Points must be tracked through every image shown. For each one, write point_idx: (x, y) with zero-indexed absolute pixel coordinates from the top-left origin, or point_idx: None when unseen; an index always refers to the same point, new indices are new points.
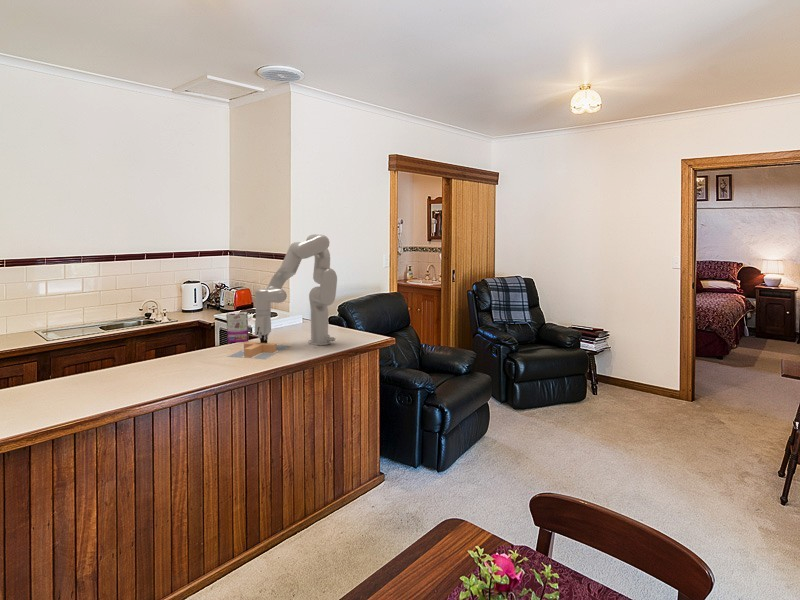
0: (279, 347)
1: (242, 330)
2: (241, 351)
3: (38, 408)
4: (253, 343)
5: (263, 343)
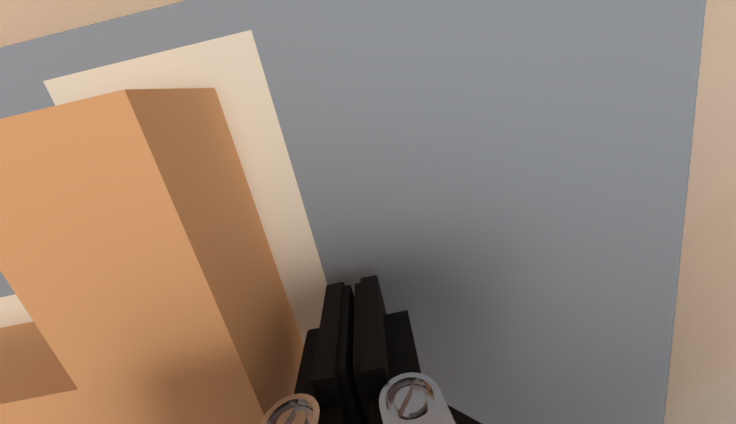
0: (537, 396)
1: None
2: (30, 94)
3: None
4: (101, 333)
5: None
